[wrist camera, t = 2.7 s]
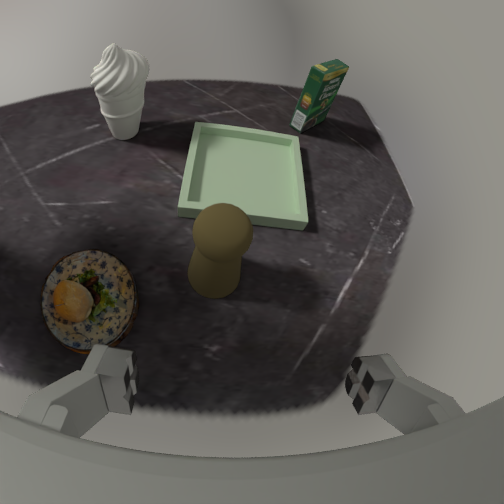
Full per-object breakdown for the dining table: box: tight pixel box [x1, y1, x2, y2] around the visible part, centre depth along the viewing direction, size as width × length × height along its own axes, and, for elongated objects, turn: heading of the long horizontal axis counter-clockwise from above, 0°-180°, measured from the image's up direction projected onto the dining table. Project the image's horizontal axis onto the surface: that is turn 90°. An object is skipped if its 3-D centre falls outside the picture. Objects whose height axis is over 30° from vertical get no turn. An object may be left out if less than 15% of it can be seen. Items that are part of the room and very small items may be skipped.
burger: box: [41, 249, 139, 354], centre depth 26 cm, size 12×12×8 cm
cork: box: [187, 203, 253, 299], centre depth 29 cm, size 6×6×11 cm
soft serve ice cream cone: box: [90, 43, 149, 140], centre depth 34 cm, size 8×8×16 cm
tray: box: [178, 122, 308, 231], centre depth 40 cm, size 16×16×2 cm
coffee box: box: [290, 59, 349, 133], centre depth 44 cm, size 8×3×13 cm, turn 136°
